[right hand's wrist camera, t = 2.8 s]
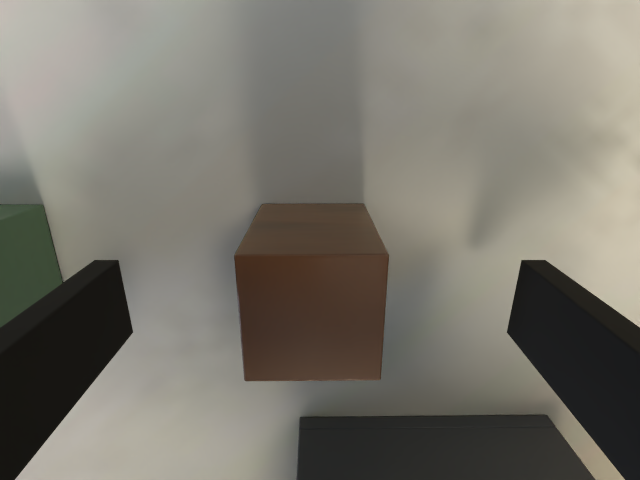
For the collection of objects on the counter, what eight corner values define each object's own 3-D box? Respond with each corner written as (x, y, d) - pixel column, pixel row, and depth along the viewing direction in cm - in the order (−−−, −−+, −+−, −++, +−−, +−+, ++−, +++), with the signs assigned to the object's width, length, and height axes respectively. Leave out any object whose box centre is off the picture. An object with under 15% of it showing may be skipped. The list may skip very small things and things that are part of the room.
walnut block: (360, 294, 18) (380, 380, 12) (266, 295, 18) (244, 382, 12) (364, 203, 17) (389, 254, 11) (261, 203, 17) (233, 254, 11)
